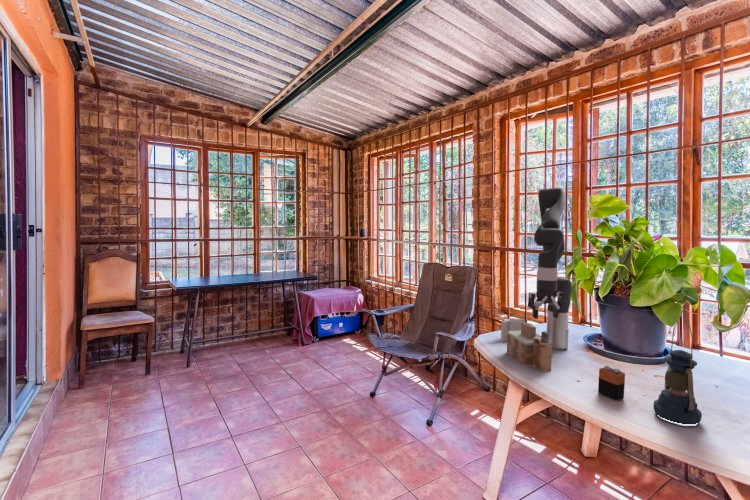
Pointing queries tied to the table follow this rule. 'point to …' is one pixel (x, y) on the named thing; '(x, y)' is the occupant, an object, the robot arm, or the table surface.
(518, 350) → the toolbox
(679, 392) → the lantern
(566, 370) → the table surface
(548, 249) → the robot arm
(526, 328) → the lid
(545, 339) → the bolt
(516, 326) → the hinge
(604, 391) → the battery
